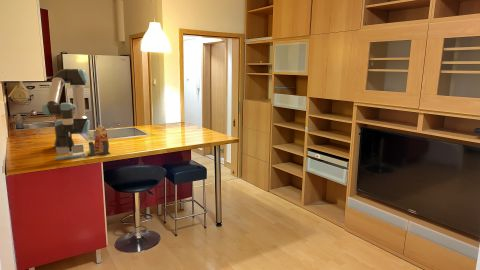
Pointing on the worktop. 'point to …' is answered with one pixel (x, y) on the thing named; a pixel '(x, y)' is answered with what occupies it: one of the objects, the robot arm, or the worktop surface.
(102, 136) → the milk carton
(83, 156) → the mat
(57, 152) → the rail
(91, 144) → the standards
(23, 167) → the worktop surface
